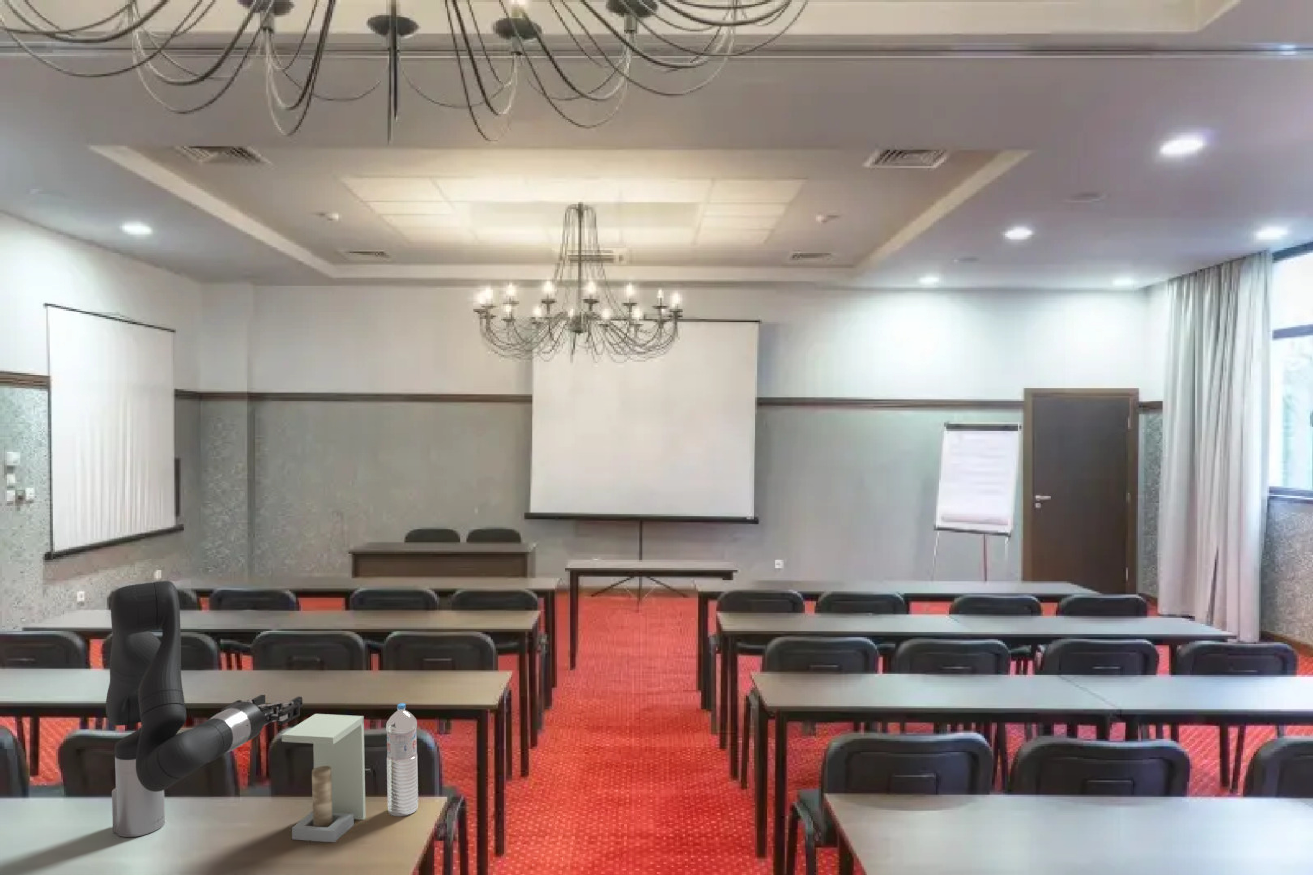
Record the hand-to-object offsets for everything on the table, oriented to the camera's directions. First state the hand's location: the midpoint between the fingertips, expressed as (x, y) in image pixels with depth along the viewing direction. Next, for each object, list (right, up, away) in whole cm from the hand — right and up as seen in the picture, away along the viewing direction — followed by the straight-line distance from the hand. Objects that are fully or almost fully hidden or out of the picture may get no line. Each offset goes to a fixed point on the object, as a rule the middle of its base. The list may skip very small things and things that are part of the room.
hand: (282, 700), depth 179 cm
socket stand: (+6, -32, +8) cm, 33 cm away
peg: (+6, -32, +8) cm, 33 cm away
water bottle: (+20, -32, +18) cm, 42 cm away
